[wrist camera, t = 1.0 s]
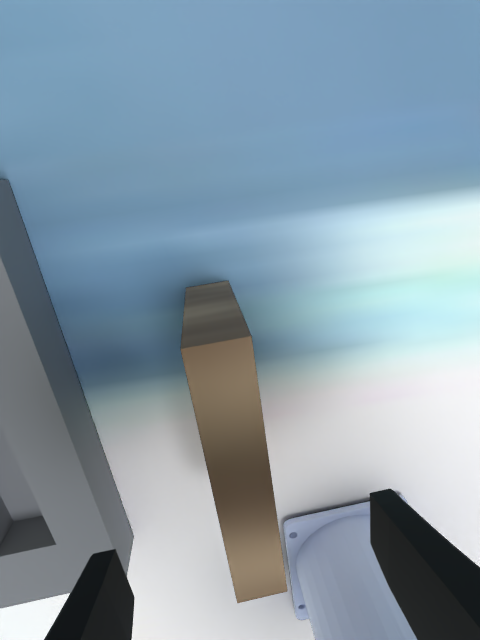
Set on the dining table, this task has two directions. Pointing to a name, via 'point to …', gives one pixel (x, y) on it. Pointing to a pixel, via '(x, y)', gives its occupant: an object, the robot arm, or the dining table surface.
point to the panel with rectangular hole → (45, 440)
